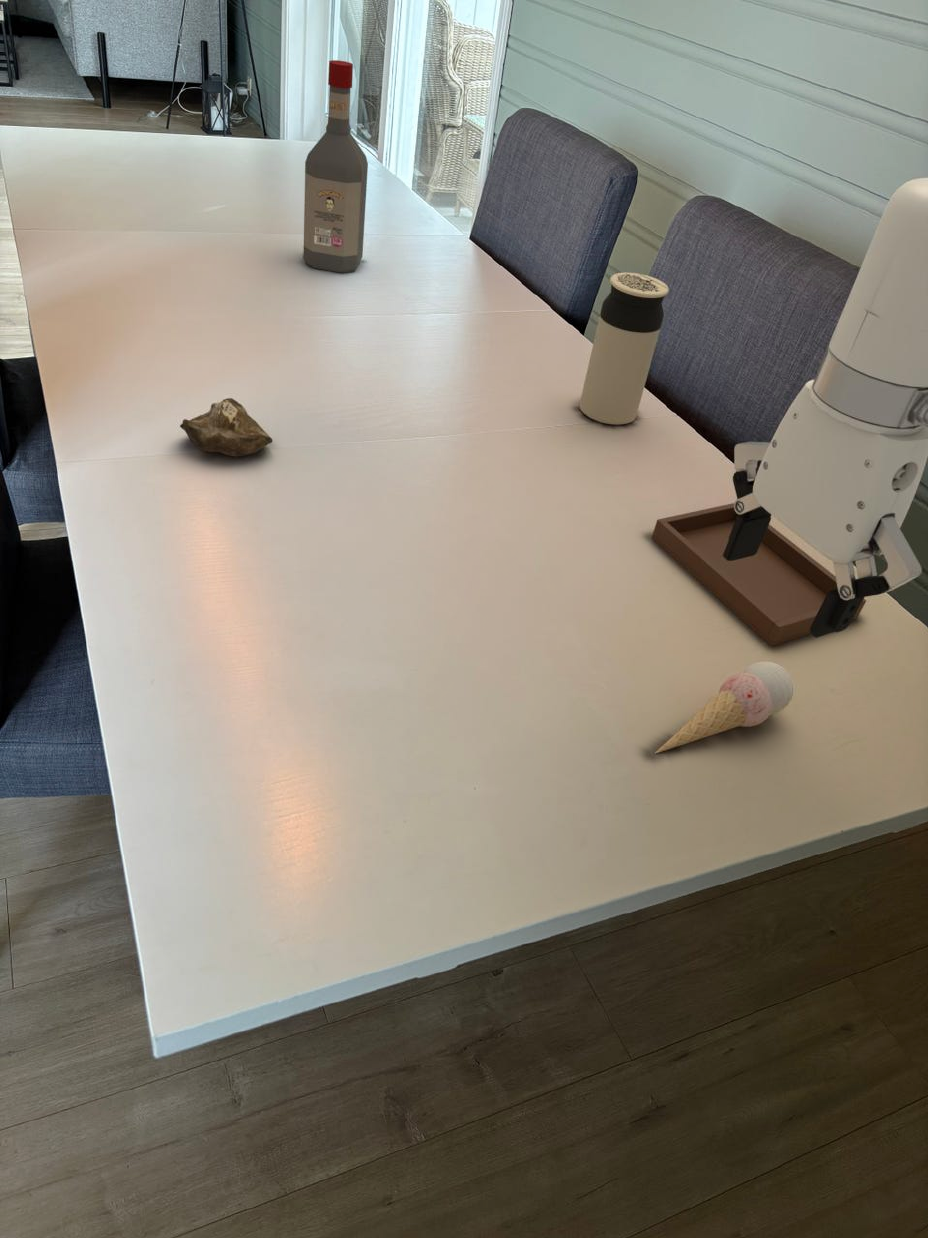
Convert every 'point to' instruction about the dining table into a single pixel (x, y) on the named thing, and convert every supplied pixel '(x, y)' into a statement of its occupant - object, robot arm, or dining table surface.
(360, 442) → the dining table surface
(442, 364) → the dining table surface
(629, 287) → the travel mug
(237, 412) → the fossilized seashell
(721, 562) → the tray
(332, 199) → the liquor
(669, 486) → the dining table surface
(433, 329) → the dining table surface
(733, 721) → the ice cream cone
